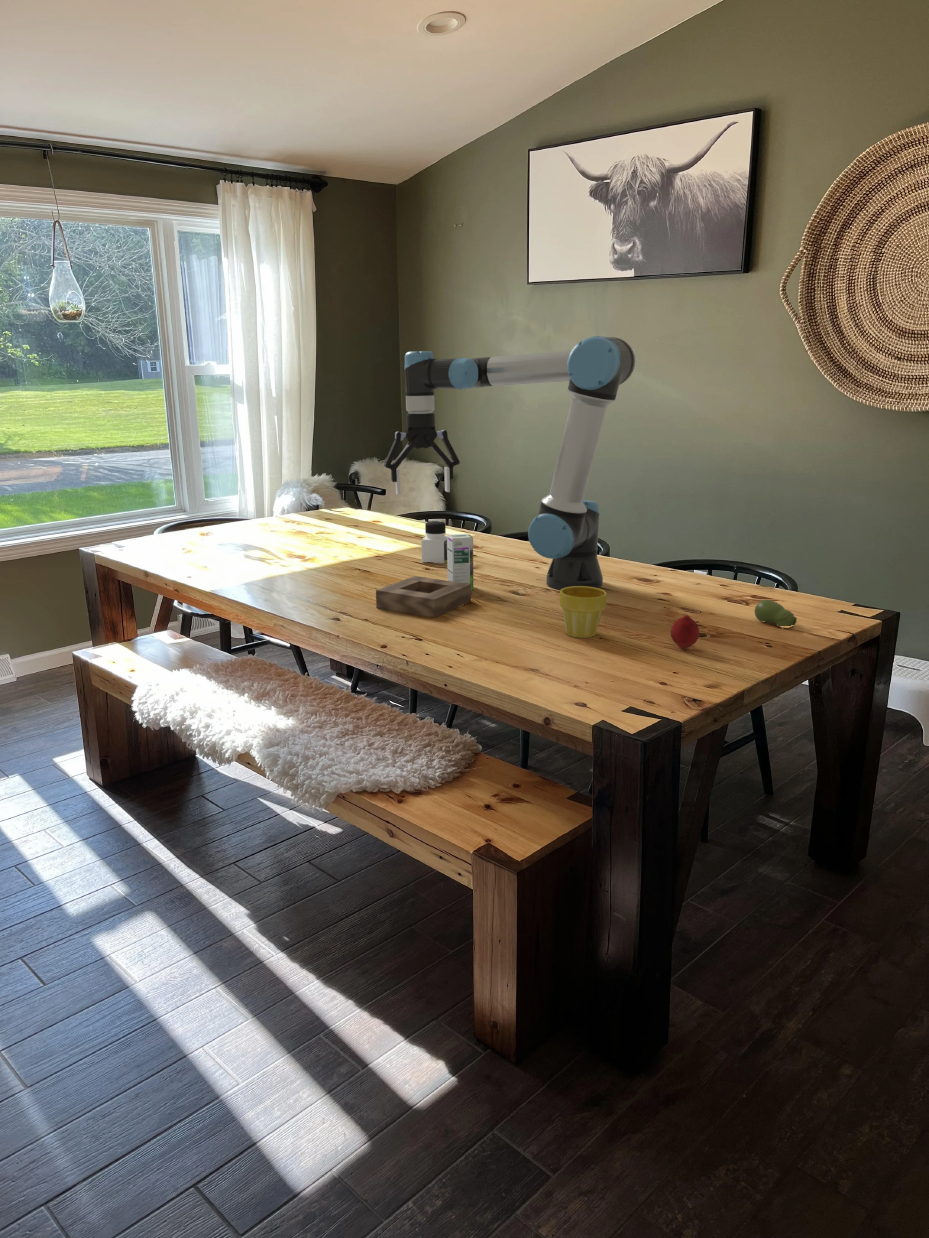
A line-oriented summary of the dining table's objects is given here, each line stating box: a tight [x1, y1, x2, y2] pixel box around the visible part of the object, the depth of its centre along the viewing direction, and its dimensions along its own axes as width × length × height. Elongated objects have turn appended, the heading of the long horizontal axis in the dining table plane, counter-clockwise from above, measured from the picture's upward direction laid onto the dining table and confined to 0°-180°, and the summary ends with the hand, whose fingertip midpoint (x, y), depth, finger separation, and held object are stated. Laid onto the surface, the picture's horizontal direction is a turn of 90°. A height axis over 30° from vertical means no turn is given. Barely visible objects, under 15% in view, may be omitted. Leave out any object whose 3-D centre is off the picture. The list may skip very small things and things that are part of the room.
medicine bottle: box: [420, 520, 447, 564], centre depth 268 cm, size 7×7×12 cm
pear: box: [754, 599, 797, 627], centre depth 206 cm, size 6×5×10 cm
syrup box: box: [446, 533, 474, 591], centre depth 235 cm, size 6×6×14 cm
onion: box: [670, 612, 700, 650], centre depth 187 cm, size 6×6×8 cm
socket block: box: [375, 575, 472, 619], centre depth 222 cm, size 17×17×4 cm
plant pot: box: [558, 586, 608, 639], centre depth 198 cm, size 10×10×10 cm
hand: (422, 493), depth 241 cm, fingers open, 13 cm apart
